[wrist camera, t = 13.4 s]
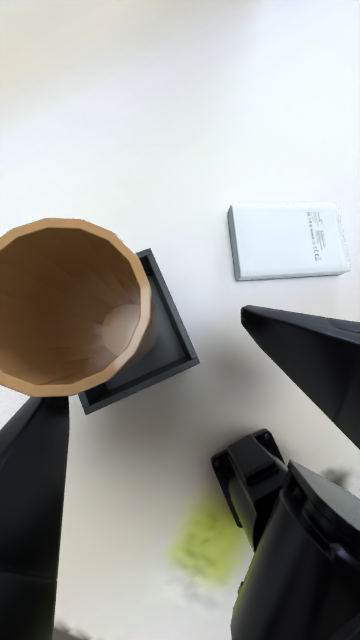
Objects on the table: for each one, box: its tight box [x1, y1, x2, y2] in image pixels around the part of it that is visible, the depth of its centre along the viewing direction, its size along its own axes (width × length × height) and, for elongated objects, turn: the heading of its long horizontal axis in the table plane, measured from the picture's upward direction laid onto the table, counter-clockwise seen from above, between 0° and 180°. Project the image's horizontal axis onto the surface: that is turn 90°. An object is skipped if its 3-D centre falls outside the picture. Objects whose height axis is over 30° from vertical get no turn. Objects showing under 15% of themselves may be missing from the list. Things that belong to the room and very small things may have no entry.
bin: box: [78, 248, 200, 415], centre depth 17 cm, size 10×9×5 cm
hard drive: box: [228, 203, 350, 281], centre depth 21 cm, size 2×8×12 cm
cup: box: [0, 218, 160, 397], centre depth 13 cm, size 6×6×13 cm
